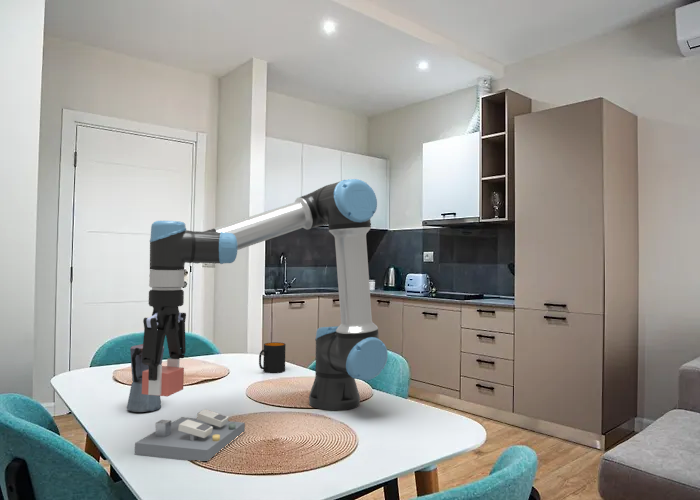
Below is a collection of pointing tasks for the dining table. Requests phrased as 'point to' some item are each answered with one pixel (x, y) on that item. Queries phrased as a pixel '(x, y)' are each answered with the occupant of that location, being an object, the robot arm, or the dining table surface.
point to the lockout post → (163, 428)
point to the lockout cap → (166, 380)
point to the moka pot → (140, 384)
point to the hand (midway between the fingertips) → (164, 390)
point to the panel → (189, 442)
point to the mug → (273, 358)
